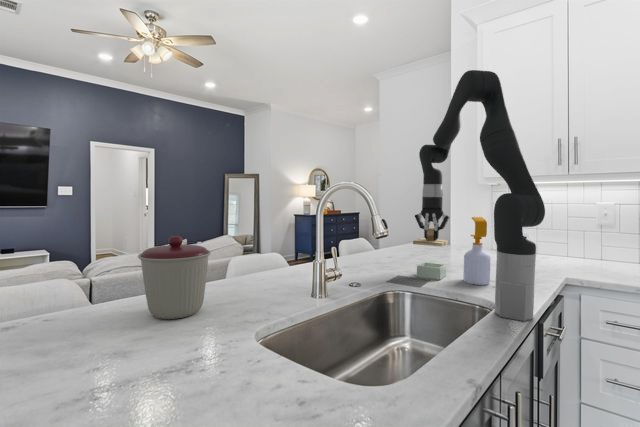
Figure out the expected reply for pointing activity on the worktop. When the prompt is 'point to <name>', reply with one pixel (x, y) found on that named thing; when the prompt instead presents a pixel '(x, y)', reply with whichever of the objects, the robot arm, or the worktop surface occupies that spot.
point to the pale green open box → (431, 271)
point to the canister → (174, 278)
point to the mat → (408, 281)
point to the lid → (431, 240)
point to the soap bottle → (477, 257)
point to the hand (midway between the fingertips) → (431, 239)
